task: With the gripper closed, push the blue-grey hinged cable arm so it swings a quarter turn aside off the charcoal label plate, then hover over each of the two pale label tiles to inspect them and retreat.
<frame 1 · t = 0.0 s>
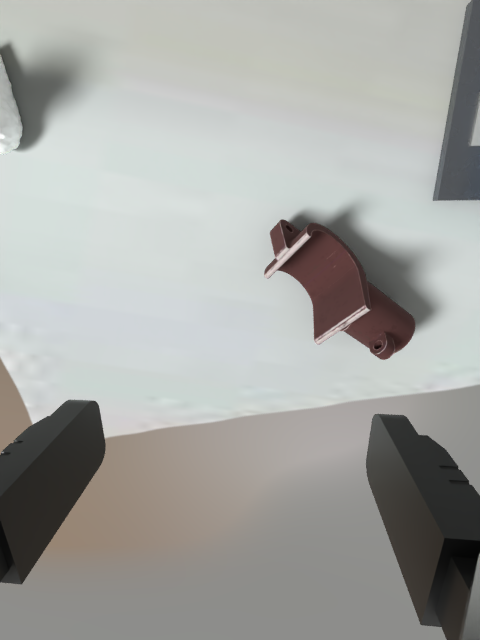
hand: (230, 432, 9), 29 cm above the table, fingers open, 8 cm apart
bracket: (327, 283, 37), on the table
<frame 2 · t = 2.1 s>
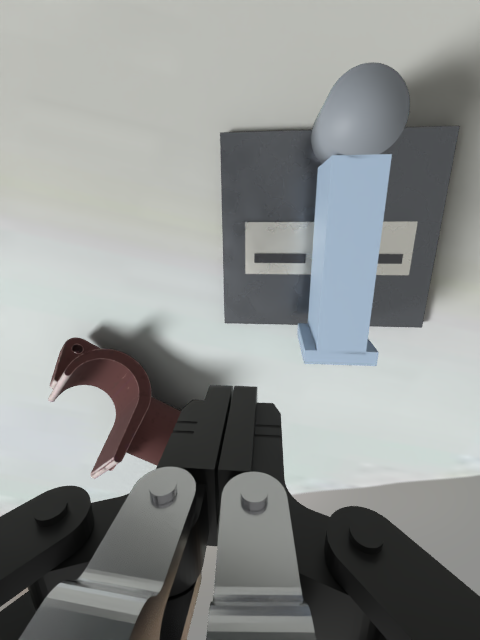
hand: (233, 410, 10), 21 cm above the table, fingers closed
cable arm: (343, 232, 22), point 7 cm above the table, hinge at 0.0°
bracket: (143, 392, 36), on the table
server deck: (325, 235, 28), on the table
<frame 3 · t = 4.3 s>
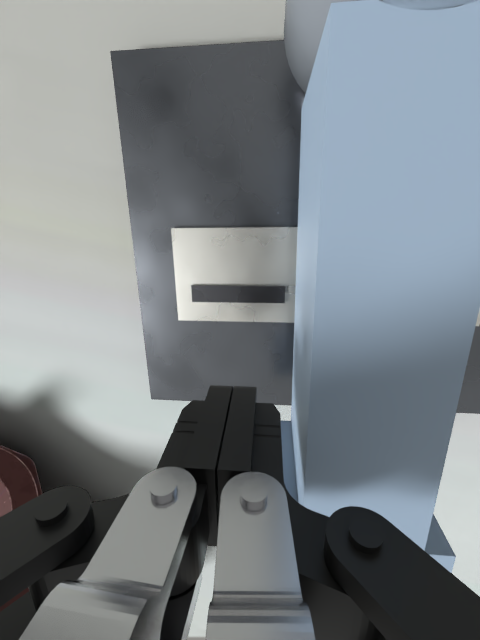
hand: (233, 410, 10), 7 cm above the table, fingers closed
cable arm: (362, 255, 9), point 7 cm above the table, hinge at 0.6°, touching gripper
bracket: (48, 489, 23), on the table
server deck: (322, 251, 15), on the table
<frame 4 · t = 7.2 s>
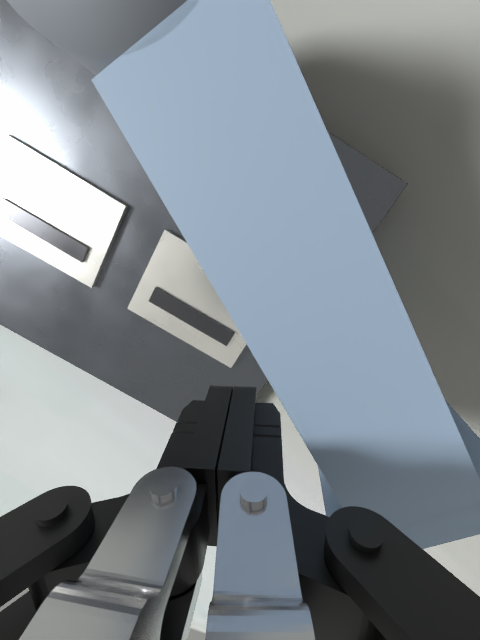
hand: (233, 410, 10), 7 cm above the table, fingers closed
cable arm: (280, 239, 9), point 7 cm above the table, hinge at 59.7°, touching gripper
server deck: (145, 239, 16), on the table
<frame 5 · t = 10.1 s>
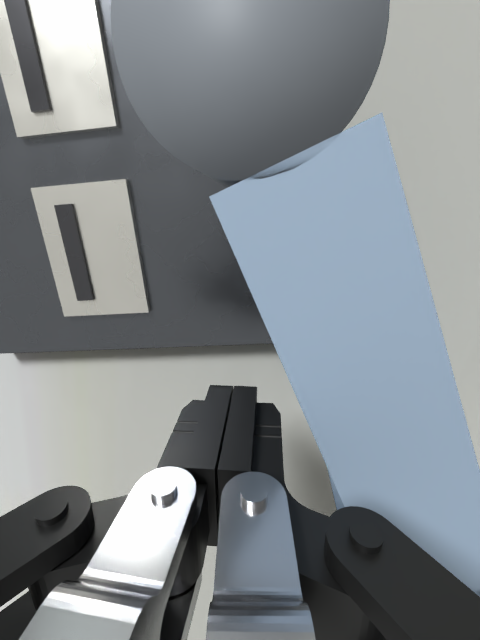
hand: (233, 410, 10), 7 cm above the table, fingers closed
cable arm: (337, 321, 9), point 7 cm above the table, hinge at 109.4°
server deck: (108, 160, 15), on the table
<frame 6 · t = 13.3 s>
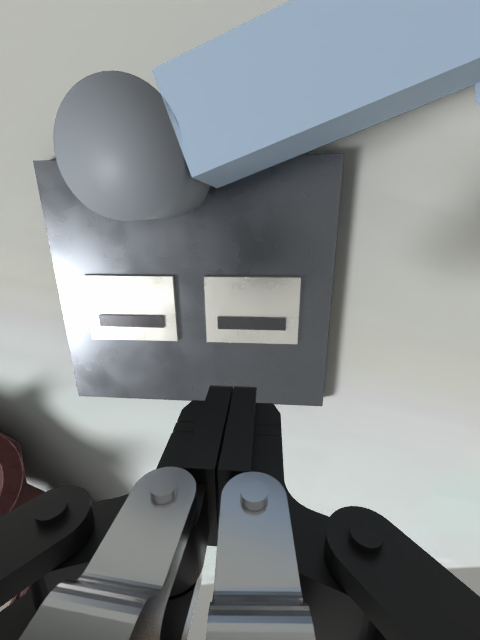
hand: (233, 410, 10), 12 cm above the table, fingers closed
cable arm: (297, 97, 12), point 7 cm above the table, hinge at 109.4°
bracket: (27, 467, 29), on the table
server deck: (193, 290, 22), on the table
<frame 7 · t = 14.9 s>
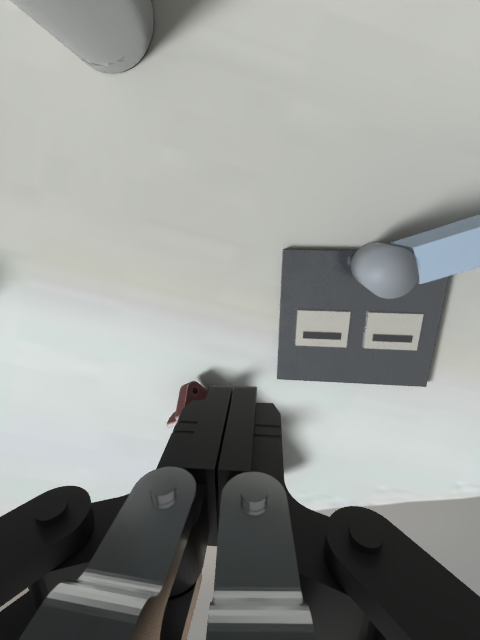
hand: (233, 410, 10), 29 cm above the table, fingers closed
cable arm: (454, 246, 29), point 7 cm above the table, hinge at 109.4°
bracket: (225, 426, 45), on the table
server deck: (355, 318, 38), on the table
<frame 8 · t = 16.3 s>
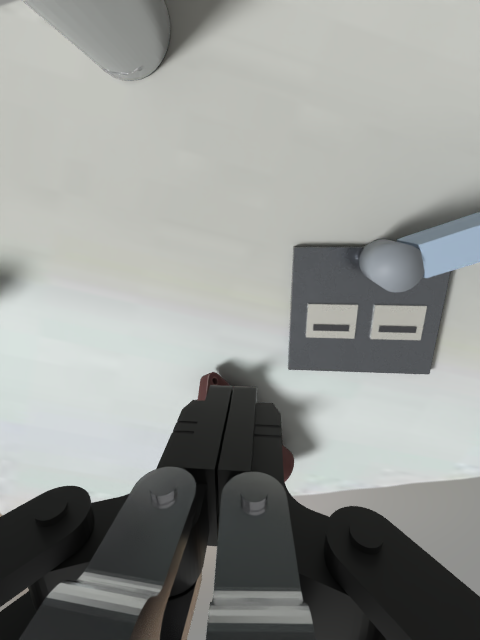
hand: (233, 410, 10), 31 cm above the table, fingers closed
cable arm: (456, 242, 31), point 7 cm above the table, hinge at 109.4°
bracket: (241, 415, 47), on the table
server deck: (362, 311, 40), on the table
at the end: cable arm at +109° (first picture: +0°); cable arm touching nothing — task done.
